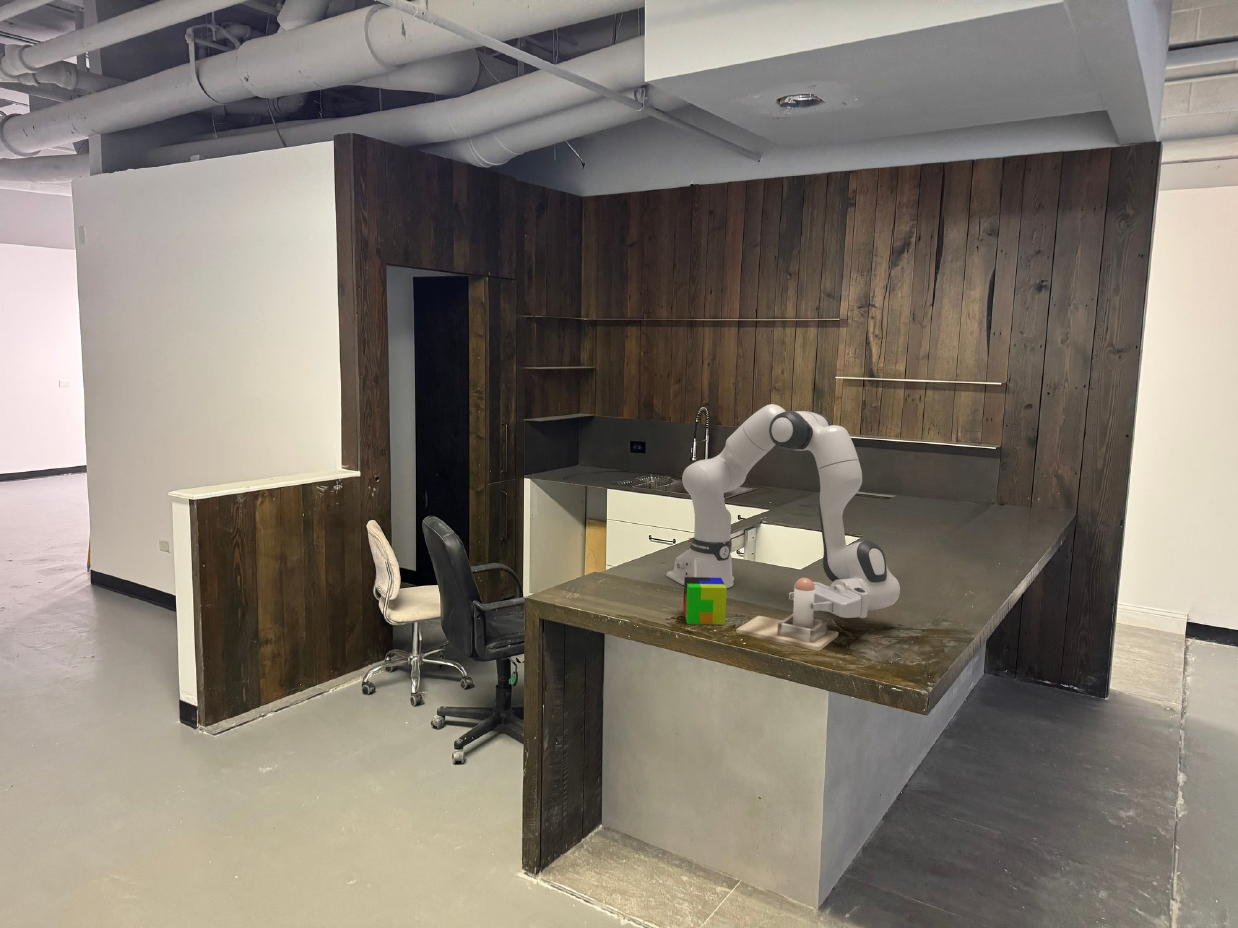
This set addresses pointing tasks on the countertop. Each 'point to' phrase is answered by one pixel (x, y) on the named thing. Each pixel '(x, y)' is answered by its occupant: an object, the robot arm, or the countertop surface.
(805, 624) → the dome-capped white cylinder
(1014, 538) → the countertop surface
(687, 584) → the puzzle toy
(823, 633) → the jig cradle
